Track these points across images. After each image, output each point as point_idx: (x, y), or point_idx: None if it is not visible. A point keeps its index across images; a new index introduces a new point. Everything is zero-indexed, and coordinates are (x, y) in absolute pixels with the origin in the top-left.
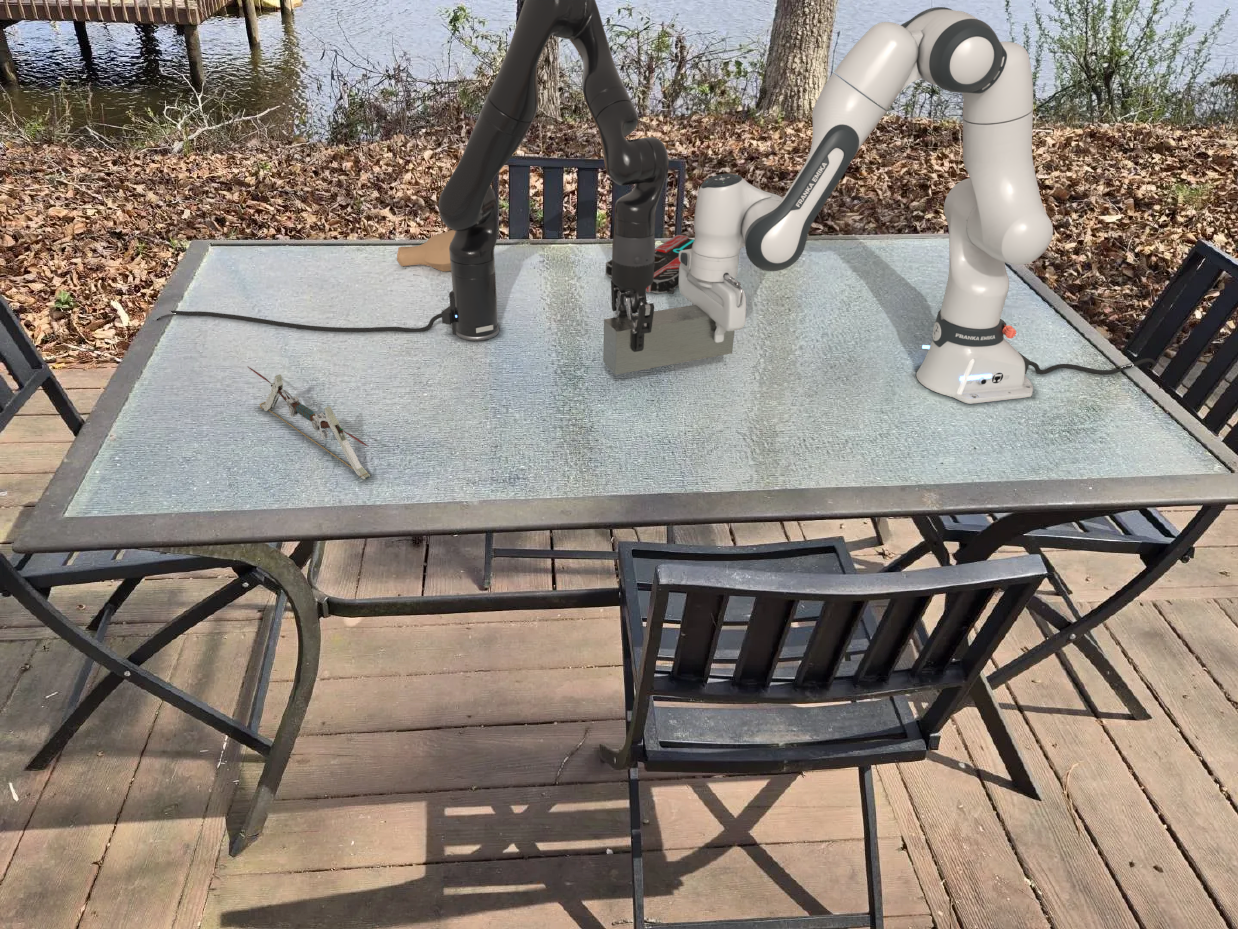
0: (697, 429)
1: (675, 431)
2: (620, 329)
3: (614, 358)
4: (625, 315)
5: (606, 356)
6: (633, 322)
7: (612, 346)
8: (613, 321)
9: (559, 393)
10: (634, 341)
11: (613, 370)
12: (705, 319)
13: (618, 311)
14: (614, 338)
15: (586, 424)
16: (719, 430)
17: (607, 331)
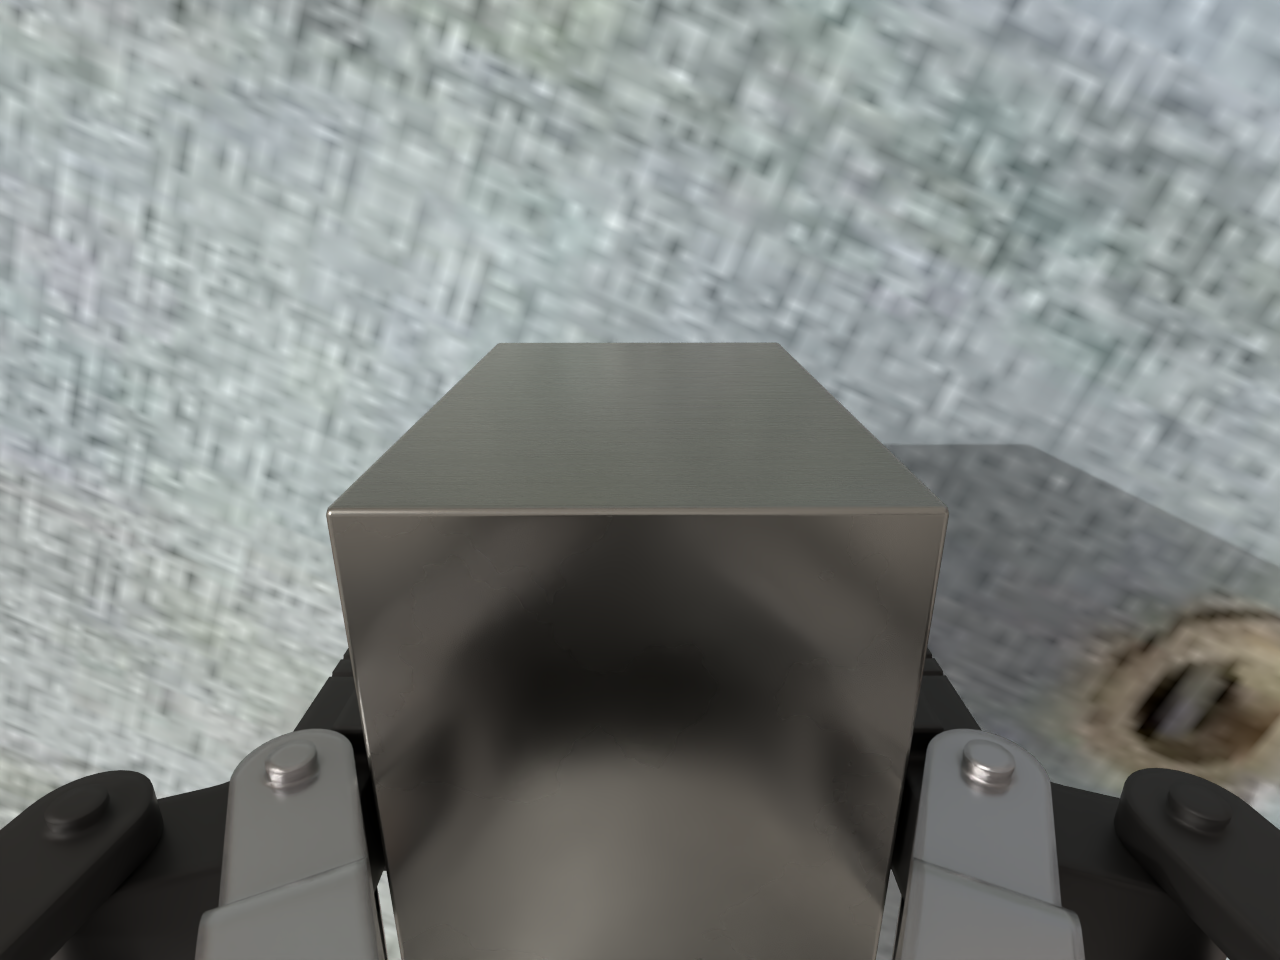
0: (203, 622)
1: (203, 516)
2: (396, 604)
3: (498, 374)
4: (902, 862)
5: (712, 359)
6: (224, 897)
7: (547, 404)
8: (766, 622)
9: (883, 4)
10: None
11: (538, 346)
12: None
13: (959, 840)
14: (456, 448)
15: (401, 25)
16: (175, 706)
17: (740, 449)
